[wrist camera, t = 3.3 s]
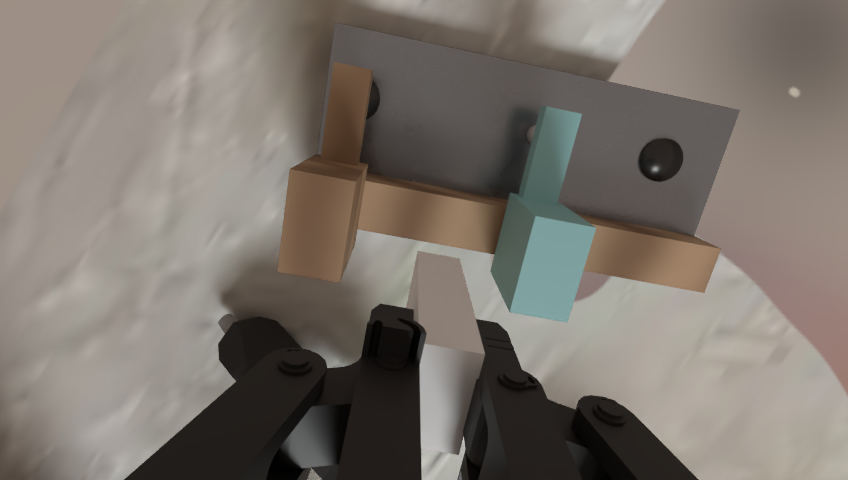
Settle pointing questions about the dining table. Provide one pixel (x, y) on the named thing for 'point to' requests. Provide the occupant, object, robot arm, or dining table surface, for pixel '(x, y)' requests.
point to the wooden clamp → (439, 211)
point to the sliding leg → (543, 227)
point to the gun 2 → (257, 354)
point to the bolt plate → (510, 121)
